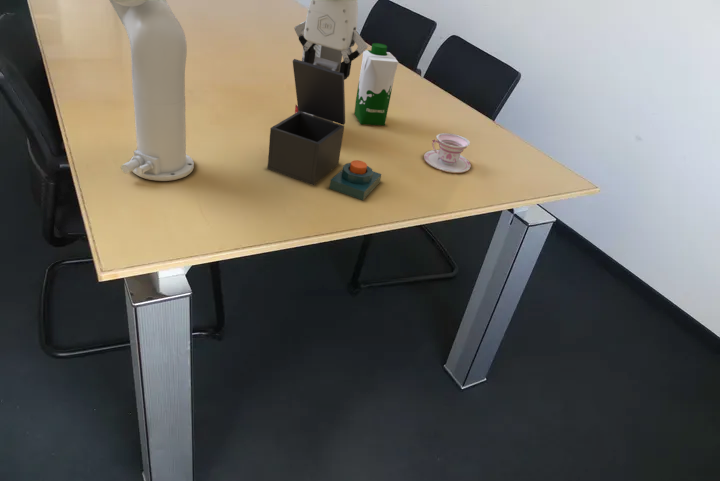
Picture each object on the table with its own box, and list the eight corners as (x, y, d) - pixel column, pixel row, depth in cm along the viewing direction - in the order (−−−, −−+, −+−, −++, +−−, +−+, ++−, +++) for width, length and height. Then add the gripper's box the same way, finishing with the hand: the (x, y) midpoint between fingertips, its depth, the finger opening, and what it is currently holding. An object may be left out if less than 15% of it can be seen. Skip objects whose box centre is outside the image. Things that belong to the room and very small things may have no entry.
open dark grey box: (313, 185, 121) (319, 144, 116) (267, 169, 124) (270, 127, 119) (338, 164, 132) (344, 125, 126) (294, 149, 134) (298, 111, 129)
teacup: (465, 155, 148) (471, 133, 144) (474, 176, 138) (481, 153, 134) (420, 149, 146) (426, 127, 143) (426, 170, 137) (432, 147, 133)
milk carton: (379, 114, 162) (392, 44, 151) (388, 127, 155) (403, 54, 144) (350, 112, 159) (361, 41, 148) (358, 126, 152) (371, 52, 141)
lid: (342, 75, 115) (353, 61, 118) (292, 60, 118) (304, 46, 120) (343, 125, 126) (353, 110, 128) (298, 110, 128) (308, 96, 131)
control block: (362, 200, 120) (366, 184, 117) (329, 188, 122) (331, 172, 119) (379, 182, 127) (383, 166, 125) (348, 171, 129) (350, 156, 127)
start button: (362, 176, 121) (363, 169, 120) (346, 171, 122) (348, 164, 121) (368, 170, 124) (369, 163, 123) (353, 165, 124) (354, 158, 123)
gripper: (289, -22, 111) (281, 67, 121) (369, -1, 106) (355, 89, 116) (306, -25, 117) (298, 60, 126) (383, -5, 112) (369, 81, 122)
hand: (325, 73), depth 121 cm, fingers open, 7 cm apart
